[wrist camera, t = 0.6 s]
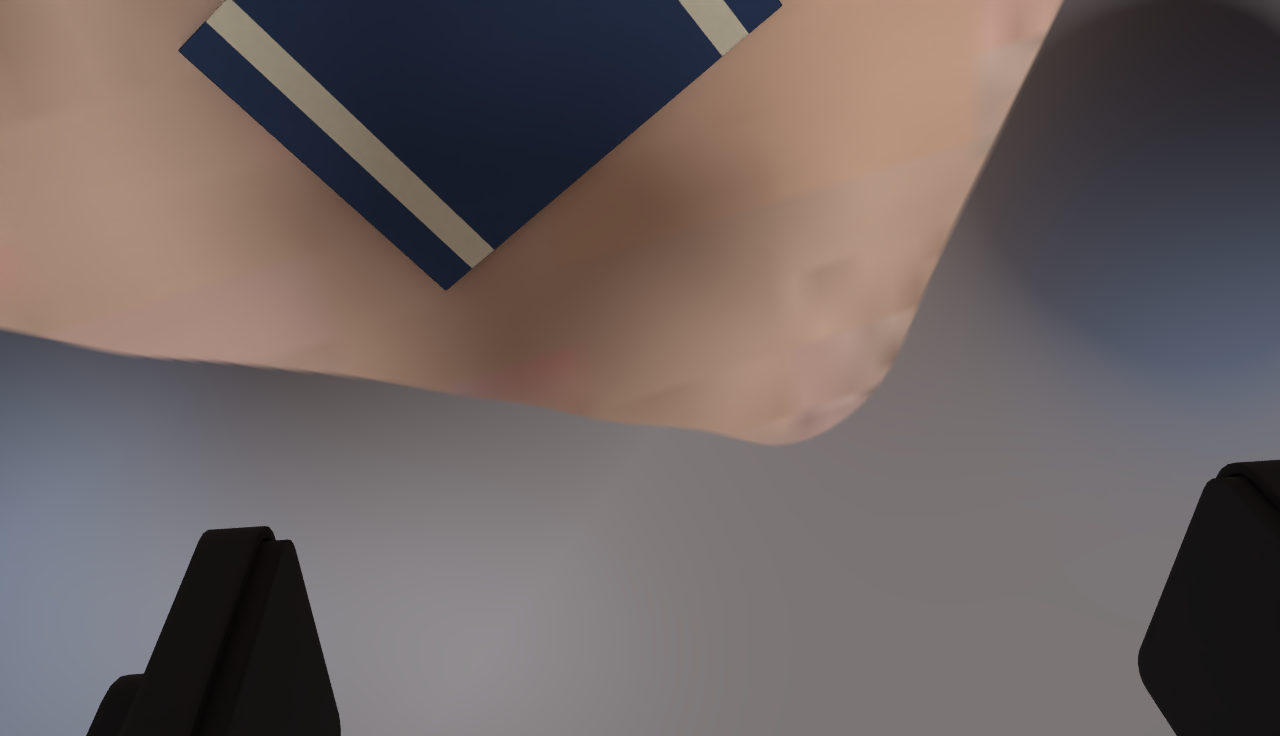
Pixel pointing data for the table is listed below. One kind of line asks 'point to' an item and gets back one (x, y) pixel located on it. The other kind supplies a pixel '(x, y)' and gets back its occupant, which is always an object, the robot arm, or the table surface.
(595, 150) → the cloth
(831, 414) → the table surface
